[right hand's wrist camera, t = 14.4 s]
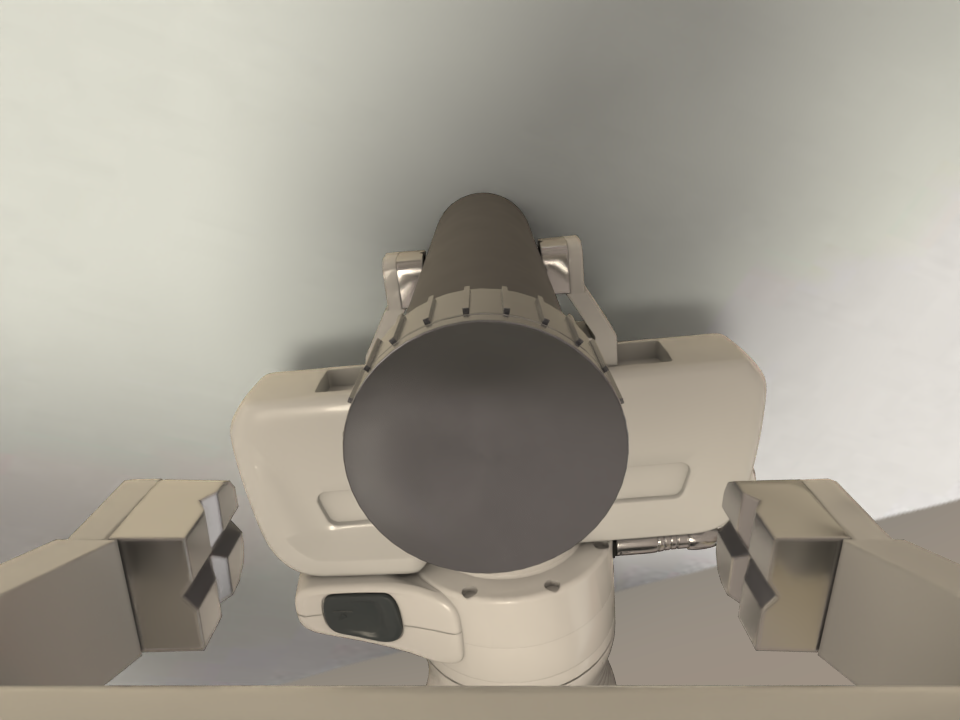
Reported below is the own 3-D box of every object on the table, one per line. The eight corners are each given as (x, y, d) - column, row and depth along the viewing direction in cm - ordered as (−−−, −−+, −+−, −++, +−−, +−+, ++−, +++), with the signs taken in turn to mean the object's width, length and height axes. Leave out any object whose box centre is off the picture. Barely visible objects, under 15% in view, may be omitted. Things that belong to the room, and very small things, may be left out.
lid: (304, 389, 14) (274, 437, 12) (506, 227, 12) (510, 250, 11) (466, 555, 15) (465, 621, 13) (662, 424, 14) (690, 475, 12)
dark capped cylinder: (414, 234, 30) (318, 429, 12) (490, 171, 29) (505, 282, 11) (476, 307, 31) (469, 580, 13) (550, 249, 30) (650, 460, 12)
